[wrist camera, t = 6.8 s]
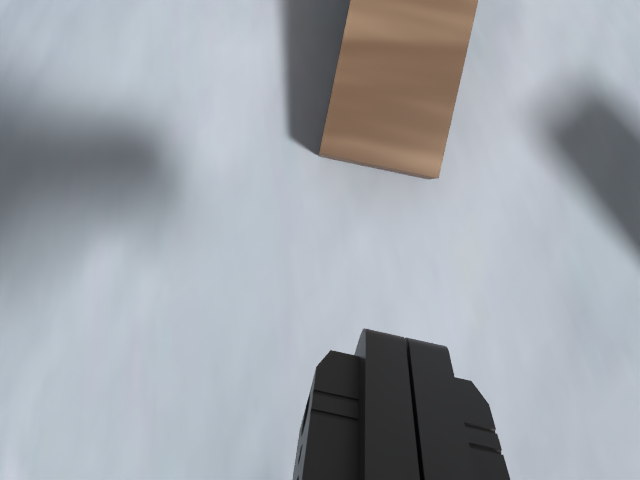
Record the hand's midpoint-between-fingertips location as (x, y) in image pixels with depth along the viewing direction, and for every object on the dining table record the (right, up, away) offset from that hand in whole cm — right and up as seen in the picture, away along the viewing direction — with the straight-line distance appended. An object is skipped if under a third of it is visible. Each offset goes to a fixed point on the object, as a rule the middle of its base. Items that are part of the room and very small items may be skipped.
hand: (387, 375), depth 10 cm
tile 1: (+1, +6, +13) cm, 15 cm away
